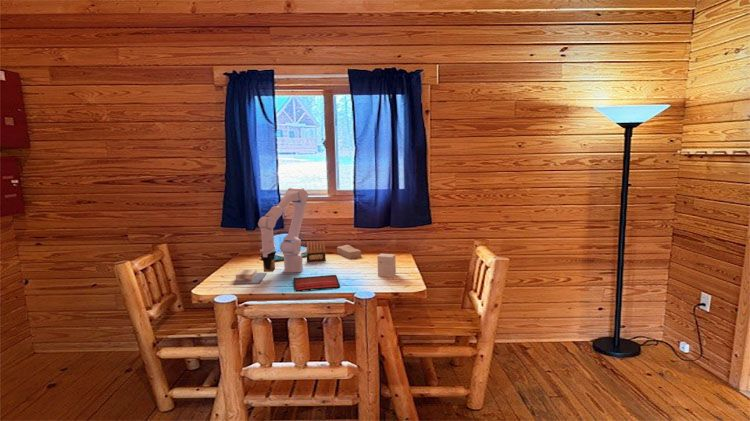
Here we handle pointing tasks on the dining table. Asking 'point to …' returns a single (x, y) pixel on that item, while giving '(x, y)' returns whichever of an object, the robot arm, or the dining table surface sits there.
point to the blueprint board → (257, 279)
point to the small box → (386, 265)
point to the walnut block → (271, 266)
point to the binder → (316, 282)
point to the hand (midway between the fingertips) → (269, 267)
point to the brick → (349, 252)
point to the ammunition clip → (316, 252)
